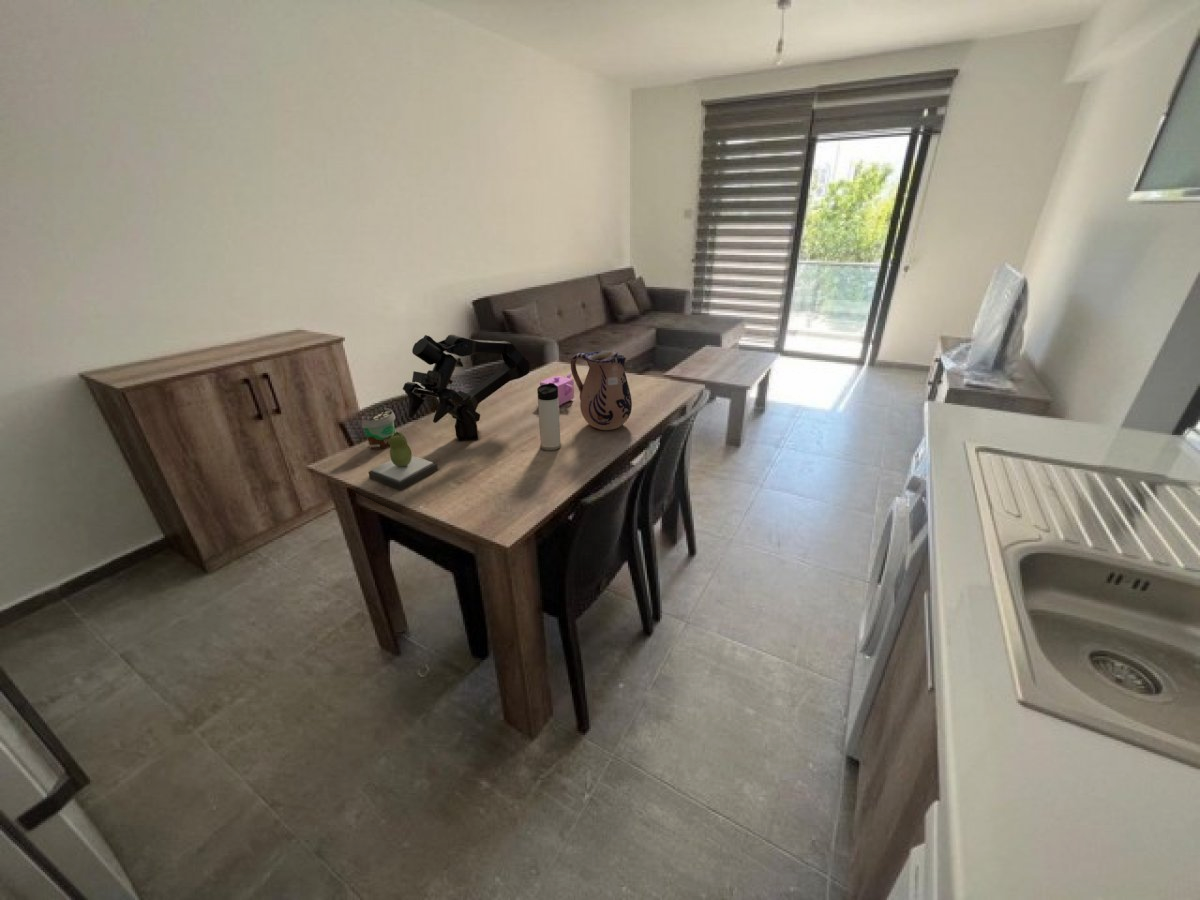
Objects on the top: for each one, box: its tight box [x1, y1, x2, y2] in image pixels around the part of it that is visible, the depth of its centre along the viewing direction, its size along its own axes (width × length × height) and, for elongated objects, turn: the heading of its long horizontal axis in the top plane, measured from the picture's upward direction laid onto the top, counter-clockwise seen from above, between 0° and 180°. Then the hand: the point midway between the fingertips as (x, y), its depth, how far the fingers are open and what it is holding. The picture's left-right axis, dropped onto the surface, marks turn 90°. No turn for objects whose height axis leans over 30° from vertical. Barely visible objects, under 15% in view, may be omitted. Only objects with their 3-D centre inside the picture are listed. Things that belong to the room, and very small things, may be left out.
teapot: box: [539, 373, 575, 407], centre depth 185 cm, size 18×14×10 cm
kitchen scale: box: [367, 455, 439, 491], centre depth 136 cm, size 13×13×3 cm
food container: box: [361, 407, 396, 450], centre depth 152 cm, size 12×6×10 cm, turn 168°
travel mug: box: [536, 383, 562, 452], centre depth 147 cm, size 6×7×20 cm
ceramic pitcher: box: [570, 350, 633, 431], centre depth 161 cm, size 18×21×25 cm
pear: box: [389, 431, 413, 467], centre depth 133 cm, size 6×5×10 cm
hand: (422, 419), depth 140 cm, fingers open, 9 cm apart
